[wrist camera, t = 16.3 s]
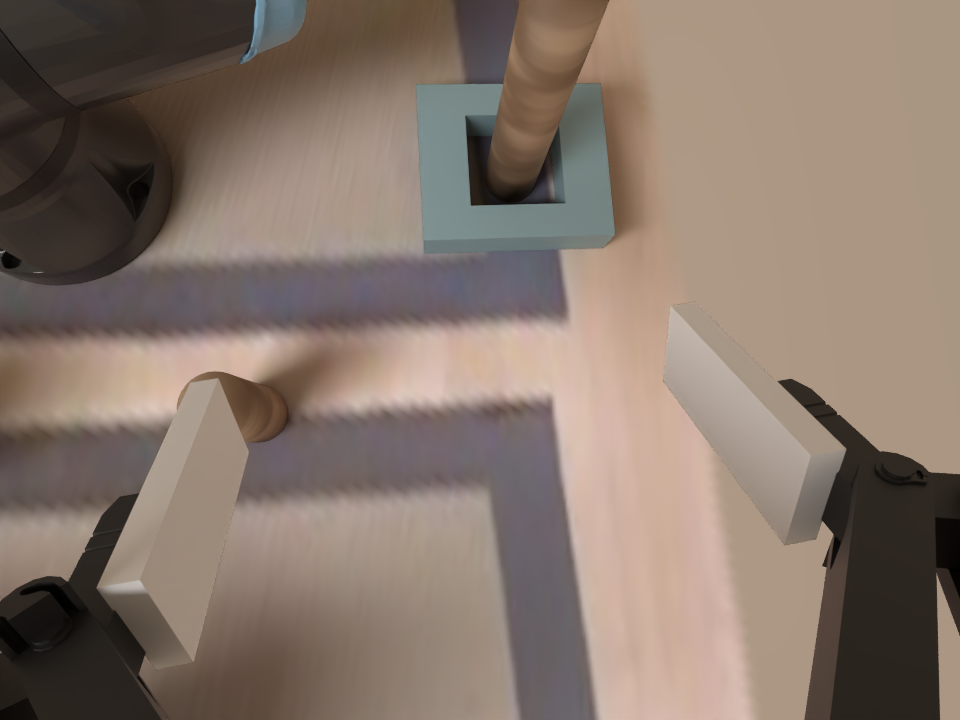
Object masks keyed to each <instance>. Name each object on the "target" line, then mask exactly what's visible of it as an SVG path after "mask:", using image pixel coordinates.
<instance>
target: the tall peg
mask: <svg viewBox="0 0 960 720" xmlns="http://www.w3.org/2000/svg"><path fill="white" fill-rule="evenodd" d="M608 2H609V0H520V3H519V8H518V13H517V18H516V23H515V28H514V33H513V38H512V43H511V48H510V52H509V57H508V62H507V67H506V72H505V77H504V82H503V87H502V92H501V97H500V102H499V107H498V112H497V116H496V121H495V126H494V131H493V136H492V141H491V146H490V151H489V156H488V161H487V166H486V171H485V183H486V186H487V189H488V190H489V192H490V193H491V194H492V195H493V196H494V197H495V198H497V199H499V200H501V201H504V202H518V201H521V200H523V199H525V198H526V197H527V196H528V195H529V194H530V193H531V191H532V190H533V187H534V185H535V183H536V180H537V178H538V175H539V173H540V170H541V168H542V165H543V163H544V160H545V158H546V155H547V153H548V150H549V148H550V146H551V143H552V141H553V138H554V136H555V133H556V131H557V128H558V126H559V123H560V121H561V118H562V116H563V113H564V111H565V109H566V106H567V104H568V101H569V99H570V96H571V94H572V91H573V89H574V86H575V84H576V81H577V79H578V76H579V74H580V71H581V69H582V67H583V64H584V62H585V59H586V57H587V54H588V52H589V49H590V47H591V44H592V42H593V39H594V37H595V34H596V32H597V30H598V27H599V25H600V22H601V20H602V17H603V15H604V12H605V10H606V7H607V5H608Z"/></svg>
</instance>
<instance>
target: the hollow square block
mask: <svg viewBox="0 0 960 720" xmlns="http://www.w3.org/2000/svg"><path fill="white" fill-rule="evenodd" d="M502 87H503V84H416V97H417V119H418V139H419V159H420V179H421V199H422V218H423V238H424V254H434V253H465V252H495V251H526V250H557V249H588V248H604V247H605V245H606V244H607V243H608V242H609V241H610V240H611V239H612V238H613V236H614V235H615V228H614V217H613V207H612V197H611V186H610V176H609V165H608V155H607V145H606V134H605V124H604V113H603V103H602V93H601V83H578V84H575V86H574V89H573V91H572V94H571V96H570V99H569V101H568V104H567V106H566V109H565V111H564V113H563V116H562V118H561V121H560V123H559V126H558V128H557V131H556V133H555V136H554V138H553V141H552V143H551V153H552V166H553V178H554V190H555V202H556V204H519V205H479V206H471V202H470V186H469V170H468V154H467V138H466V136H493V131H494V126H495V121H496V116H497V112H498V107H499V102H500V97H501V92H502Z"/></svg>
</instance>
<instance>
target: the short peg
mask: <svg viewBox="0 0 960 720" xmlns="http://www.w3.org/2000/svg"><path fill="white" fill-rule="evenodd" d="M216 378H218V379H219V381H220V383H221V386H222V388H223V391H224V393H225V395H226V398H227V400H228V403H229V405H230V408H231V410H232V412H233V415H234V417H235V420H236V422H237V425H238V427H239V429H240V432H241V434H242V437H243V439H244V441H245V442H265V441H269V440H271V439H273V438H275V437H276V436H277V435H278V434H280V432H281V431H282V430H283V429H284V427H285V425H286V422H287V419H288V407H287V404H286V402H285V400H284V398H283V397H282V396H281V395H280V394H279V393H278V392H277V391H275V390H274V389H271V388H269V387H266V386H263V385H260V384H257V383H254V382H251V381H248V380H245V379H242V378H239V377H236V376H233V375H230V374H228V373H224V372H207V373H204V374H201V375H199V376H197V377H195V378H194V379H192V380H191V381H190V382H189V383H188V384H187V385H186V386H185V387H184V389H183V390H182V392H181V394H180V396H179V399H178V403H177V410H178V408H179V406H180V404H181V401H182V399H183V397H184V395H185V393H186V391H187V388H188V386H189V384H190V383H191V382H197V381H203V380H210V379H216Z"/></svg>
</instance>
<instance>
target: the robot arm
mask: <svg viewBox="0 0 960 720" xmlns="http://www.w3.org/2000/svg"><path fill="white" fill-rule="evenodd" d="M306 9H307V0H0V272H3V273H5V274H8V275H10V276H13V277H16V278H18V279H21V280H25V281H28V282H33V283H38V284H45V285H70V284H77V283H82V282H87V281H90V280H94V279H97V278H100V277H103V276H105V275H107V274H110V273H112V272H114V271H115V270H117V269H119V268H121V267H122V266H124V265H126V264H127V263H128V262H130V261H131V260H132V259H134V258H135V257H136V256H137V255H138V254H139V253H141V252H142V251H143V250H144V249H145V248H146V246H147V245H148V244H149V243H150V242H151V241H152V239H153V238H154V237H155V235H156V234H157V232H158V230H159V229H160V227H161V225H162V223H163V221H164V219H165V217H166V214H167V212H168V208H169V205H170V201H171V195H172V185H173V179H172V168H171V163H170V159H169V156H168V153H167V150H166V148H165V146H164V143H163V141H162V140H161V138H160V136H159V135H158V133H157V132H156V130H155V129H154V128H153V127H152V125H151V124H150V123H149V122H148V121H147V120H146V118H145V117H144V116H143V115H142V114H141V113H140V112H139V110H138V109H137V108H136V107H135V106H134V105H133V104H132V103H130V102H129V101H128V100H127V99H126V98H127V97H130V96H134V95H137V94H140V93H144V92H147V91H150V90H153V89H157V88H160V87H163V86H166V85H170V84H173V83H176V82H180V81H183V80H186V79H189V78H193V77H196V76H199V75H202V74H206V73H209V72H212V71H216V70H219V69H222V68H225V67H229V66H232V65H235V64H244V63H247V62H249V61H250V60H251V59H252V58H253V57H254V56H255V55H257V54H259V53H262V52H264V51H267V50H269V49H272V48H274V47H277V46H279V45H282V44H284V43H286V42H288V41H290V40H291V39H293V38H294V37H295V36H296V35H297V34H298V32H299V31H300V29H301V27H302V25H303V23H304V20H305V15H306ZM663 382H664V383H665V384H666V386H667V387H668V389H669V390H670V391H671V393H672V394H673V395H674V397H675V398H676V399H677V401H678V402H679V403H680V405H681V406H682V408H683V409H684V410H685V412H686V413H687V414H688V416H689V417H690V418H691V420H692V421H693V422H694V424H695V425H696V426H697V428H698V429H699V431H700V432H701V433H702V435H703V436H704V437H705V439H706V440H707V441H708V443H709V444H710V445H711V447H712V448H713V449H714V451H715V452H716V454H717V455H718V456H719V458H720V459H721V460H722V462H723V463H724V464H725V466H726V467H727V468H728V470H729V471H730V472H731V474H732V475H733V476H734V478H735V479H736V481H737V482H738V483H739V485H740V486H741V487H742V489H743V490H744V491H745V493H746V494H747V495H748V497H749V498H750V499H751V501H752V502H753V504H754V505H755V506H756V508H757V509H758V510H759V512H760V513H761V514H762V516H763V517H764V518H765V520H766V521H767V523H768V524H769V525H770V526H771V528H772V529H773V531H774V532H775V533H776V535H777V536H778V537H779V539H780V540H781V542H782V543H783V544H784V545H790V544H795V543H799V542H805V541H809V540H815V539H816V538H817V535H818V532H819V529H820V526H821V523H822V521H823V522H824V523H825V524H826V526H827V527H828V528H829V529H830V530H831V532H832V533H833V534H834V535H833V538H832V540H831V543H830V546H829V549H828V551H827V554H826V557H825V560H824V563H823V565H822V566H824V567H827V569H826V577H825V583H824V590H823V597H822V603H821V610H820V618H819V624H818V631H817V638H816V644H815V651H814V658H813V665H812V672H811V679H810V685H809V693H808V700H807V706H806V713H805V720H940V709H939V708H940V704H939V663H938V623H937V622H938V621H937V580H936V573H937V575H938V578H939V581H940V583H941V586H942V589H943V591H944V594H945V597H946V600H947V602H948V605H949V608H950V611H951V613H952V616H953V619H954V621H955V624H956V627H957V629H958V632H959V635H960V474H946V473H931V472H928V471H927V470H926V469H925V468H924V466H922V465H921V464H919V463H917V462H916V461H914V460H913V459H911V458H908V457H905V456H903V455H900V454H897V453H890V452H884V451H882V452H880V451H879V450H877V449H876V448H875V447H874V446H873V445H872V444H871V443H870V442H869V441H868V440H867V439H865V438H864V437H863V436H862V435H861V434H860V433H859V432H858V431H857V430H856V429H855V428H853V427H852V426H851V425H850V424H849V423H848V422H847V421H846V420H845V419H843V418H842V417H841V416H840V415H837V412H836V411H835V410H834V409H833V408H831V407H830V406H829V405H826V404H825V401H824V400H823V399H822V398H821V397H820V396H818V395H817V394H816V393H815V392H814V391H813V390H812V389H810V388H808V387H807V386H805V385H803V384H801V383H799V382H797V381H795V380H793V379H788V380H782V381H776V380H775V379H774V378H773V377H772V376H771V375H770V374H769V373H768V372H767V371H766V370H765V369H764V368H763V367H762V366H761V365H760V364H759V363H758V362H757V361H756V360H755V359H754V358H753V357H751V355H749V353H747V352H746V351H745V350H744V349H743V348H742V347H741V346H740V345H739V344H738V343H737V342H736V341H735V340H734V339H733V338H732V337H731V336H730V335H729V334H728V333H727V332H726V331H725V330H724V329H723V328H722V327H721V326H720V325H719V324H718V323H717V322H715V320H713V318H712V317H710V316H709V315H708V314H707V313H706V312H705V311H704V310H703V309H702V308H701V307H700V306H699V305H698V304H697V303H696V302H690V303H684V304H678V305H671V307H670V317H669V327H668V337H667V347H666V357H665V367H664V377H663ZM248 453H249V451H248V449H247V446H246V444H245V441H244V439H243V437H242V434H241V432H240V429H239V427H238V425H237V422H236V420H235V417H234V415H233V412H232V410H231V408H230V405H229V403H228V400H227V398H226V395H225V393H224V391H223V388H222V386H221V383H220V381H219V379H218V378H216V379H210V380H203V381H197V382H191V383H190V384H189V386H188V388H187V391H186V393H185V395H184V397H183V399H182V401H181V404H180V406H179V408H178V410H177V412H176V415H175V417H174V419H173V421H172V423H171V426H170V428H169V430H168V432H167V434H166V437H165V439H164V441H163V443H162V445H161V447H160V450H159V452H158V454H157V456H156V458H155V461H154V463H153V465H152V467H151V469H150V472H149V474H148V476H147V478H146V480H145V483H144V485H143V487H142V489H141V491H140V493H139V494H133V495H127V496H122V497H119V498H118V499H117V500H116V501H115V502H114V503H113V504H112V505H111V506H110V507H109V508H108V509H107V511H106V512H105V513H104V514H103V515H102V516H101V518H100V520H99V522H98V524H97V526H96V528H95V530H94V532H93V537H91V538H90V540H89V542H88V544H87V546H86V548H85V553H83V554H82V556H81V558H80V560H79V562H78V564H77V566H76V568H75V570H74V571H73V573H72V575H71V577H70V579H69V581H68V582H67V581H66V580H64V579H63V578H61V577H55V576H47V577H43V578H39V579H35V580H32V581H30V582H28V583H26V584H24V585H22V586H20V587H18V588H17V589H15V590H14V591H13V592H11V593H10V594H9V595H8V596H6V597H5V598H4V599H2V600H1V602H0V651H1V652H2V653H0V720H170V719H169V718H168V716H167V715H166V713H165V712H164V710H163V709H162V707H161V706H160V705H159V703H158V702H157V700H156V699H155V697H154V696H153V694H152V693H151V691H150V690H149V688H148V687H147V685H146V684H145V682H144V681H143V679H142V678H141V677H140V676H139V671H140V668H141V665H142V662H143V659H144V656H145V655H146V657H147V658H148V659H149V661H150V662H151V664H152V665H153V666H154V668H155V669H156V670H158V669H163V668H168V667H173V666H178V665H183V664H188V663H193V662H194V659H195V656H196V652H197V648H198V644H199V640H200V636H201V633H202V629H203V625H204V621H205V617H206V614H207V610H208V606H209V602H210V598H211V594H212V591H213V587H214V583H215V579H216V575H217V572H218V568H219V564H220V560H221V556H222V553H223V549H224V545H225V541H226V537H227V533H228V530H229V526H230V522H231V518H232V514H233V511H234V507H235V503H236V499H237V495H238V492H239V488H240V484H241V480H242V476H243V472H244V469H245V465H246V461H247V457H248Z"/></svg>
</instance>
